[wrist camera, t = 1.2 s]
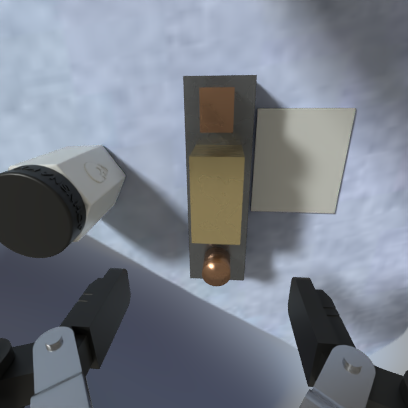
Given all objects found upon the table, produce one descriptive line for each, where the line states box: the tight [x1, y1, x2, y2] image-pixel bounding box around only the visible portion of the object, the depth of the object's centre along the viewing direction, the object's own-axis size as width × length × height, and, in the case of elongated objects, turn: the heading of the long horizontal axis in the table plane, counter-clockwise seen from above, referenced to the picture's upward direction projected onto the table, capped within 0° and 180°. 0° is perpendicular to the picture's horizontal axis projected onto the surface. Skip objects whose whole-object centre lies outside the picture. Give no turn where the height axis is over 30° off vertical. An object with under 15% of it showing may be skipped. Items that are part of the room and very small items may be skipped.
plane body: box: [183, 75, 257, 286], centre depth 27 cm, size 22×6×11 cm, turn 1°
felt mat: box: [251, 108, 356, 213], centre depth 30 cm, size 12×10×1 cm
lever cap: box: [189, 145, 245, 245], centre depth 25 cm, size 8×4×5 cm, turn 1°
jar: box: [0, 145, 126, 258], centre depth 28 cm, size 9×8×12 cm
